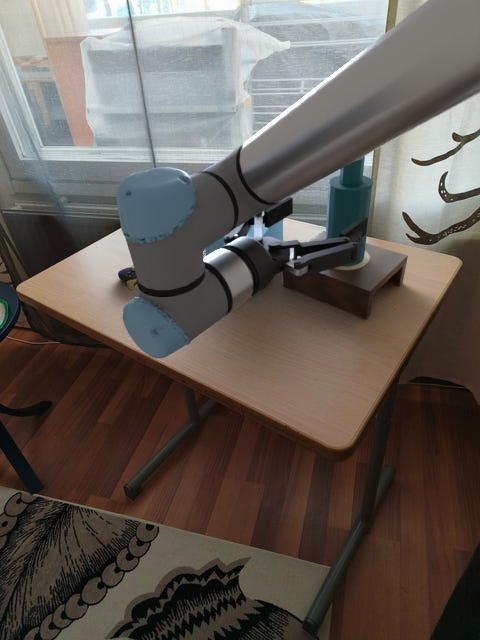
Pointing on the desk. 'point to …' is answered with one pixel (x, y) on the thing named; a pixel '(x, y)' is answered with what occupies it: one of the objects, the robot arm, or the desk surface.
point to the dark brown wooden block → (352, 280)
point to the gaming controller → (128, 276)
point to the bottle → (349, 202)
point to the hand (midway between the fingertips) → (325, 214)
